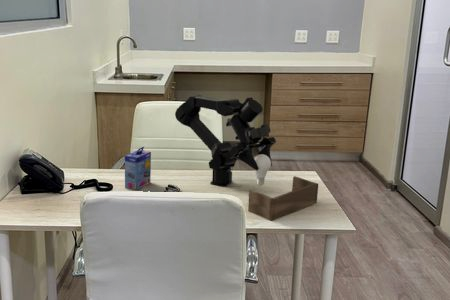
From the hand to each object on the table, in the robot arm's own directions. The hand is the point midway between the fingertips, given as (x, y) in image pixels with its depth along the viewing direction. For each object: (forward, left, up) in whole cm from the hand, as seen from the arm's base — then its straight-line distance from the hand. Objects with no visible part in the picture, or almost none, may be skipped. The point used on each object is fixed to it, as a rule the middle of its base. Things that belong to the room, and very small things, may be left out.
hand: (264, 168), depth 153 cm
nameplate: (-28, -19, -12) cm, 36 cm away
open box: (+8, -3, -11) cm, 14 cm away
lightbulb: (-1, 0, -7) cm, 7 cm away
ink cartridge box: (-45, -11, -11) cm, 48 cm away
